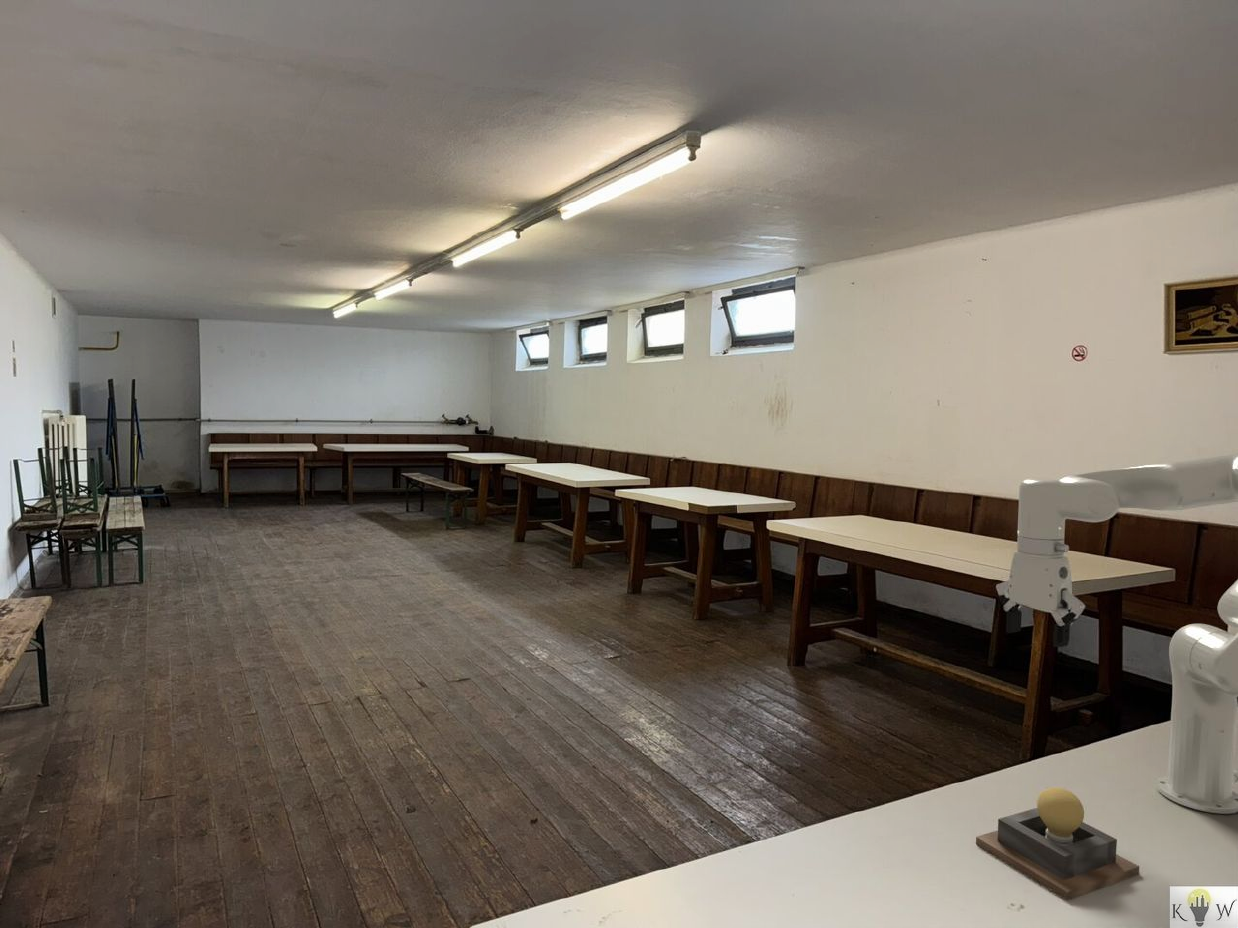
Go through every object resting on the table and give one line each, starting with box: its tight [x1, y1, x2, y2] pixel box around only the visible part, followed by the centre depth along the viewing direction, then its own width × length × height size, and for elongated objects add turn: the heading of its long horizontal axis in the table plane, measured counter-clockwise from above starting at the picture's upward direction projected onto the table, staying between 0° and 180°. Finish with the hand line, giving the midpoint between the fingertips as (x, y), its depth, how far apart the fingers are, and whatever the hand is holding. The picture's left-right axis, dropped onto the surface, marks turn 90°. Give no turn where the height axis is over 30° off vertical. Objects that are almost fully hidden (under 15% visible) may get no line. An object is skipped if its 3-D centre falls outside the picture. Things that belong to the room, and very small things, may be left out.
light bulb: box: [1036, 787, 1085, 846], centre depth 123 cm, size 6×6×10 cm
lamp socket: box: [975, 807, 1141, 901], centre depth 123 cm, size 16×16×5 cm
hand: (1036, 638), depth 145 cm, fingers open, 9 cm apart
